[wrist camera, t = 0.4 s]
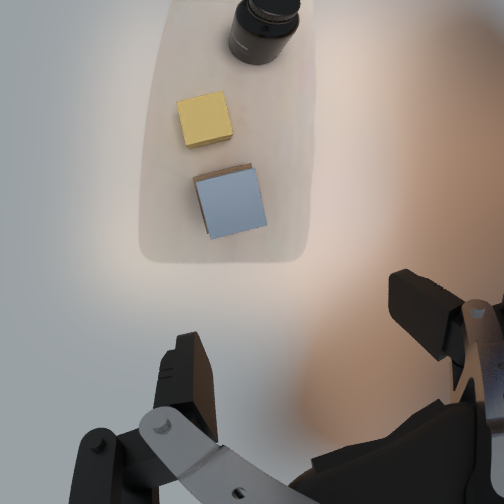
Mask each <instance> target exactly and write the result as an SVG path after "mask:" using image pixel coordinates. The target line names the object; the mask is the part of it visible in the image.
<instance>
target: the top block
mask: <svg viewBox="0 0 504 504" xmlns="http://www.w3.org/2000/svg"><path fill="white" fill-rule="evenodd" d="M176 103H177V107H178V112H179V117H180V121H181V126H182V130H183V134H184V139H185V143H186V146H187V147H188V148H189V149H192V148H196V147H200V146H204V145H208V144H212V143H216V142H220V141H225V140H229V139H230V138H231V137H232V135H233V131H232V127H231V123H230V119H229V114H228V110H227V106H226V102H225V97H224V93H223V91H221V92H216V93H211V94H207V95H202V96H198V97H194V98H190V99H186V100H182V101H179V102H176Z"/></svg>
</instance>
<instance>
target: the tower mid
mask: <svg viewBox="0 0 504 504" xmlns="http://www.w3.org/2000/svg"><path fill="white" fill-rule="evenodd" d="M196 185H197V189H198V193H199V197H200V201H201V205H202V209H203V212H204V216H205V220H206V224H207V228H208V231H209V235H210V239H215V238H218V237H222V236H226V235H230V234H234V233H238V232H242V231H246V230H250V229H254V228H258V227H262V226H266V225H267V222H266V217H265V213H264V208H263V203H262V199H261V194H260V190H259V185H258V181H257V176H256V172H255V168H252V169H244V170H240V171H236V172H231V173H227V174H223V175H219V176H215V177H211V178H207V179H203V180H199V181H197V182H196Z"/></svg>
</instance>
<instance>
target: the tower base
mask: <svg viewBox="0 0 504 504" xmlns="http://www.w3.org/2000/svg"><path fill="white" fill-rule="evenodd" d="M244 169H252V165H251V163H250V164H246V165H241V166H237V167H232V168H228V169H224V170H220V171H216V172H212V173H208V174H204V175H200V176H196V177H193V180H194V184H195V188H196V192H197V196H198V200H199V204H200V208H201V212H202V215H203V219H204V223H205V227H206V231H207V234H209V231H208V228H207V224H206V220H205V216H204V212H203V209H202V205H201V201H200V197H199V193H198V189H197V185H196V182H197V181H199V180H203V179H207V178H211V177H215V176H219V175H223V174H227V173H231V172H236V171H240V170H244Z"/></svg>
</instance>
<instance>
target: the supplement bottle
mask: <svg viewBox="0 0 504 504" xmlns="http://www.w3.org/2000/svg"><path fill="white" fill-rule="evenodd" d="M300 4H301V3H300V0H242V1H241V2H240V3H239V4H238V6H237V8H236V11H235V15H234V19H233V24H232V28H231V33H230V38H229V45H230V49H231V51H232V52H233V54H234V55H235V56H236V57H237V58H239V59H240V60H242V61H244V62H246V63H250V64H264V63H268V62H270V61H272V60H273V59H275V58H276V57H277V56H278V55H279V53H280V52H281V51H282V49H283V48H284V46H285V45H286V44H287V42H288V41H289V40H290V38H291V37H292V36H293V34H294V33H295V32H296V30H297V28H298V26H299V14H298V10H299V8H300Z"/></svg>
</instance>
